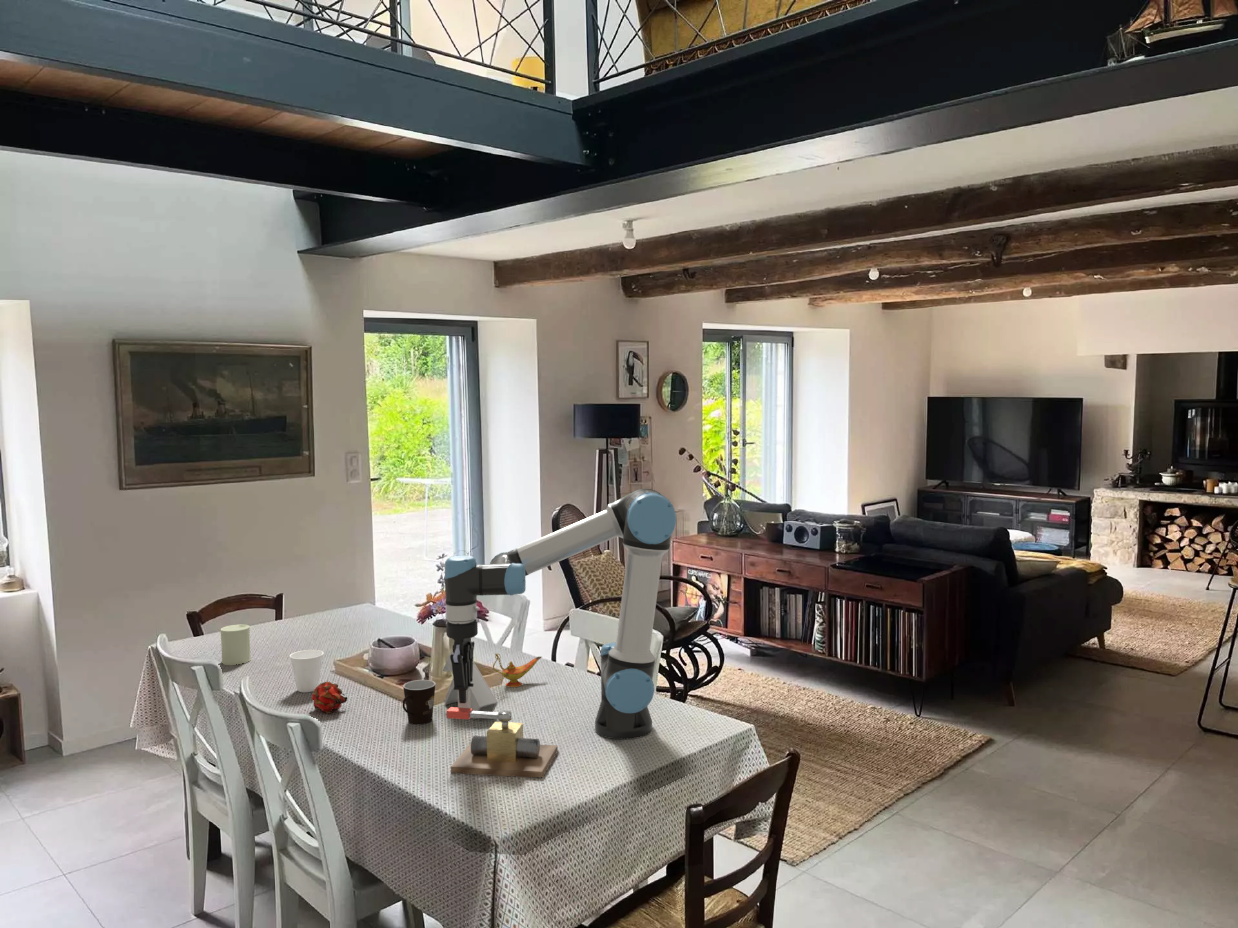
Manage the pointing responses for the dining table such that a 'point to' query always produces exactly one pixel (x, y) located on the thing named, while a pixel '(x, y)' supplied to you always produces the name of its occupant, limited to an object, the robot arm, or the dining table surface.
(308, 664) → the cup
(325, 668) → the dining table surface
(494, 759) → the ball valve
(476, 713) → the valve lever
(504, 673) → the magic lamp
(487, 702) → the grey a-frame
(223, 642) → the can
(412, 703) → the coffee mug
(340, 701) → the dragon fruit
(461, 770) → the valve board
